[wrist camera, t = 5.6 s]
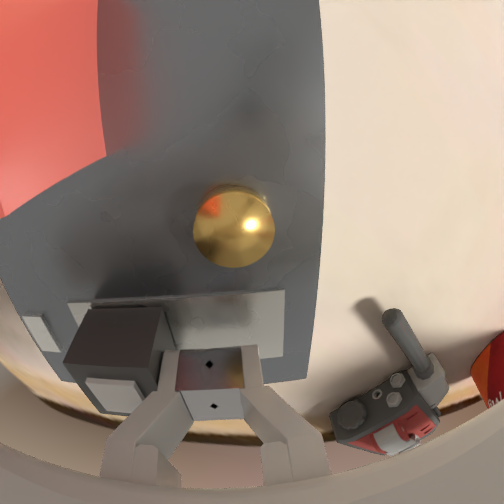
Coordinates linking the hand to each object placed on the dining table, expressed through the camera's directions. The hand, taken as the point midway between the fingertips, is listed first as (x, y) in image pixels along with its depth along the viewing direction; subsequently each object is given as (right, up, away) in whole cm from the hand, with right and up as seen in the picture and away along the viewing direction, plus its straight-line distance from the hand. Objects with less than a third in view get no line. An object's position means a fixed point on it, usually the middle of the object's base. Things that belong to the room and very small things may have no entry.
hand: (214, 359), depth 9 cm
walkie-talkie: (+11, -7, +9) cm, 16 cm away
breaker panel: (-3, +5, +1) cm, 6 cm away
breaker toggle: (-3, 0, +1) cm, 3 cm away
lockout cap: (-6, +8, -4) cm, 10 cm away
